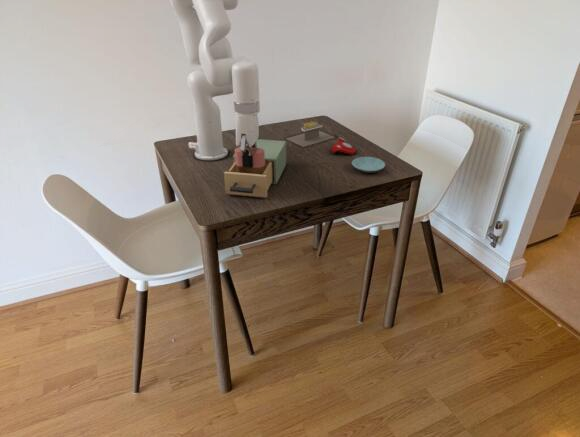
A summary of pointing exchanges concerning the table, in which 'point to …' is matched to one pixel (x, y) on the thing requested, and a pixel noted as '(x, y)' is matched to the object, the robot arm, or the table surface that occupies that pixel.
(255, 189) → the drawer
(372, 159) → the saucer
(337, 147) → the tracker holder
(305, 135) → the platform
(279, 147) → the cabinet
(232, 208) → the table surface
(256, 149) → the pink notched rounded block
